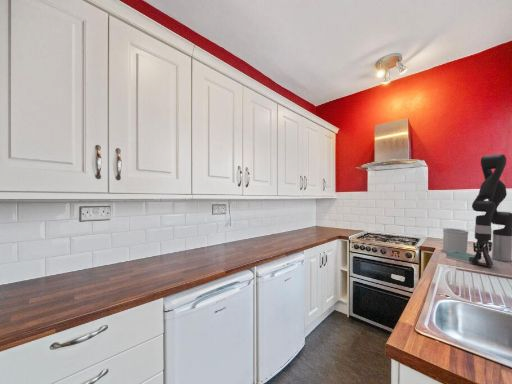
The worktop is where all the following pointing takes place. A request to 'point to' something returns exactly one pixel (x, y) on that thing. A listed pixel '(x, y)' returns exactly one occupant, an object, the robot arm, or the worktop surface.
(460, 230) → the utensil holder
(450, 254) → the socket base
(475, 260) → the black v-shaped piece
